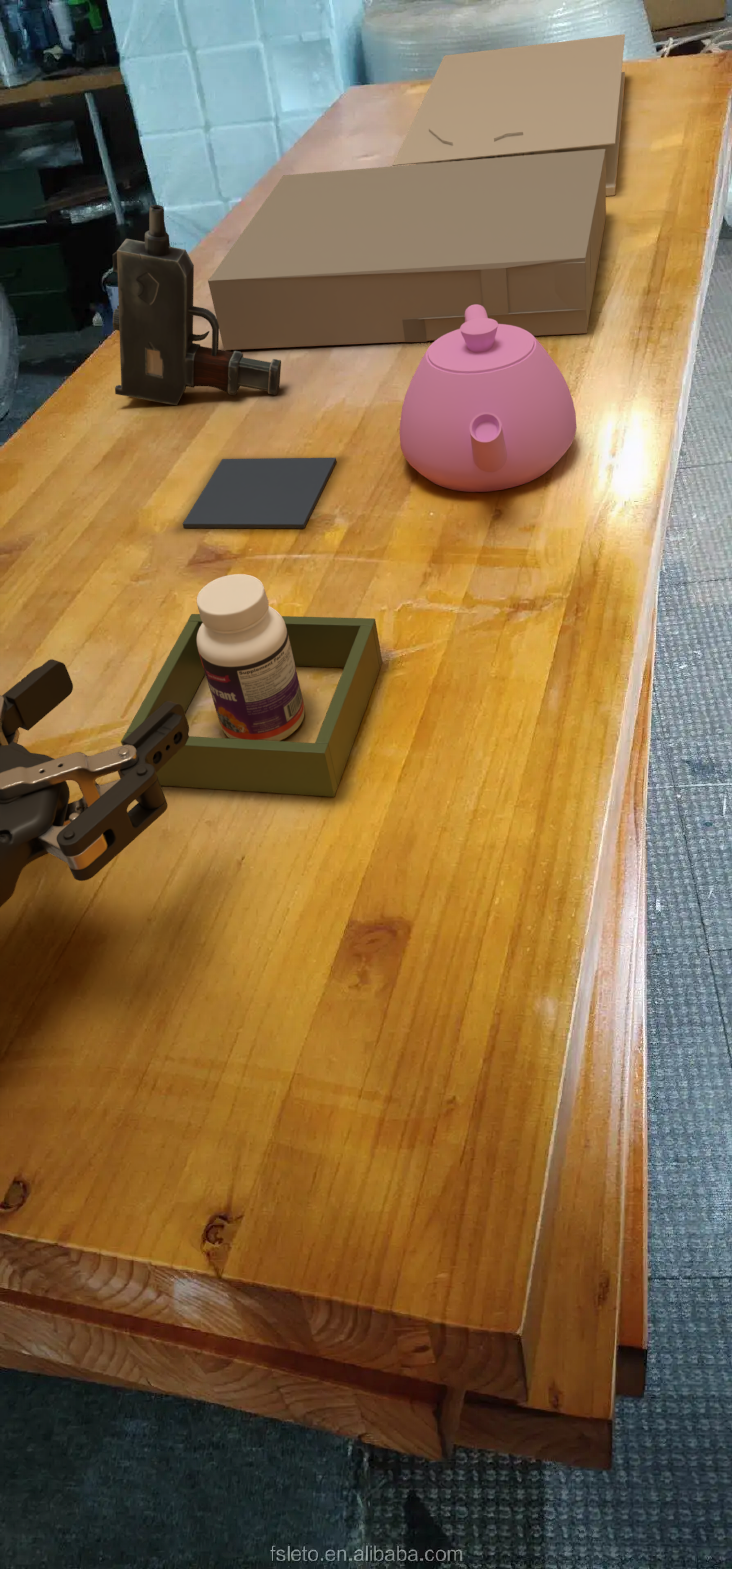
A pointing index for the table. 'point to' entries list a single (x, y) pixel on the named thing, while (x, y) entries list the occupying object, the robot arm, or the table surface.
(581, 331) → the box
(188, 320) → the gun
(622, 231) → the table surface
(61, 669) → the robot arm
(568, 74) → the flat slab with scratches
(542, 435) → the teapot
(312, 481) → the mat
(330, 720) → the square frame
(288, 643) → the pill bottle
